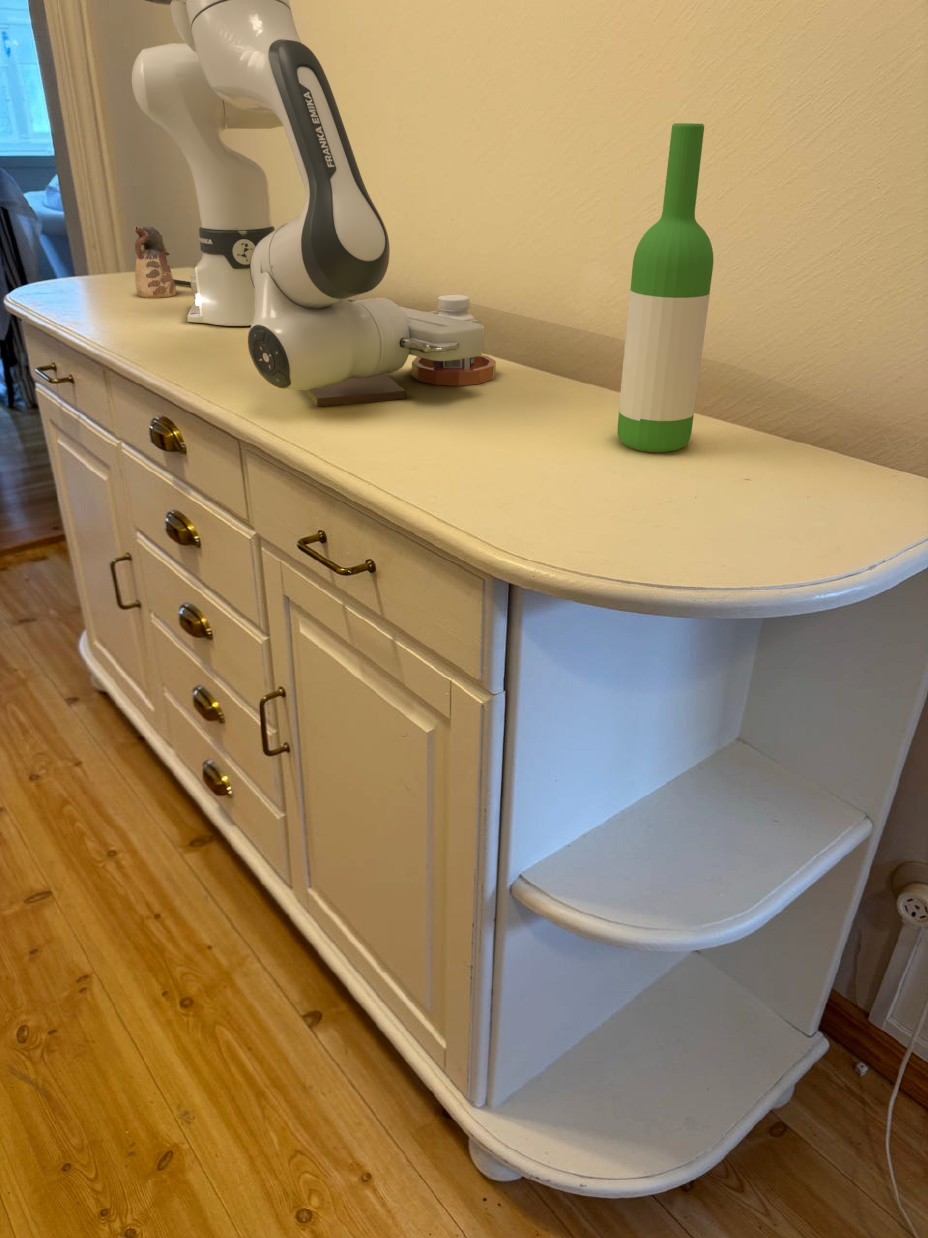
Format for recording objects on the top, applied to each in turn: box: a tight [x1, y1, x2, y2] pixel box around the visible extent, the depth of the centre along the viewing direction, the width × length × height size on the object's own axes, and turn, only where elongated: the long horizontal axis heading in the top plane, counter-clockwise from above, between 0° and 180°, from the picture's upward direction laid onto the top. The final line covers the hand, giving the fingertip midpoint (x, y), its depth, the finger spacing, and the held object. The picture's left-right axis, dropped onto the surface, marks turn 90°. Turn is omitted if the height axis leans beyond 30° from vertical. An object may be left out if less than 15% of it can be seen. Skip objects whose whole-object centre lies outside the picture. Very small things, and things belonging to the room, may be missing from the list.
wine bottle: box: [616, 122, 714, 453], centre depth 91 cm, size 8×8×30 cm
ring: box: [411, 354, 497, 387], centre depth 122 cm, size 11×11×2 cm
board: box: [303, 374, 407, 408], centre depth 120 cm, size 22×11×1 cm, turn 21°
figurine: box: [134, 225, 178, 299], centre depth 170 cm, size 7×7×12 cm
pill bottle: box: [433, 294, 475, 370], centre depth 121 cm, size 5×5×10 cm
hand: (458, 322), depth 120 cm, fingers closed on pill bottle, 5 cm apart
